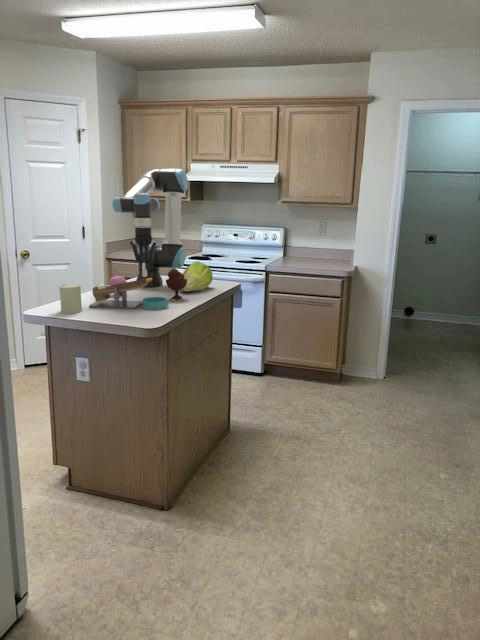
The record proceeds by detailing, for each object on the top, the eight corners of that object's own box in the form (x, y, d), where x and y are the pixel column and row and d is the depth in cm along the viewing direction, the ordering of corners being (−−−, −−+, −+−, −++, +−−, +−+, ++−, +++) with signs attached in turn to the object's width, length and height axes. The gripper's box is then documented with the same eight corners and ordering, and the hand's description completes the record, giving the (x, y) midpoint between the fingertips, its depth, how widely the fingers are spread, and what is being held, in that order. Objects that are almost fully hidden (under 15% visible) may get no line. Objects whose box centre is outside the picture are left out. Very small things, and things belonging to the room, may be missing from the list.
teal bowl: (147, 303, 246) (147, 296, 245) (170, 304, 244) (170, 297, 243) (139, 309, 235) (139, 301, 234) (164, 310, 233) (164, 302, 232)
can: (66, 308, 235) (64, 282, 232) (85, 308, 234) (83, 283, 231) (57, 312, 226) (55, 286, 223) (77, 313, 225) (75, 286, 222)
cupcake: (129, 295, 264) (128, 276, 261) (112, 297, 260) (111, 277, 257) (124, 292, 271) (123, 273, 269) (108, 293, 268) (107, 274, 265)
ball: (100, 292, 243) (97, 284, 242) (108, 290, 242) (105, 282, 242) (97, 293, 239) (94, 285, 238) (104, 291, 239) (102, 283, 238)
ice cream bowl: (184, 301, 252) (183, 271, 248) (162, 300, 254) (161, 270, 250) (190, 297, 262) (190, 267, 258) (169, 295, 264) (169, 267, 260)
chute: (108, 294, 255) (105, 282, 253) (154, 286, 251) (151, 273, 249) (95, 302, 238) (91, 288, 237) (143, 293, 234) (140, 279, 233)
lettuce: (202, 303, 271) (176, 304, 277) (218, 280, 289) (193, 281, 295) (194, 278, 263) (168, 280, 269) (211, 257, 282) (185, 259, 288)
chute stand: (100, 301, 249) (98, 282, 247) (143, 303, 247) (142, 283, 244) (89, 307, 237) (87, 287, 234) (135, 309, 234) (134, 289, 232)
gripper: (127, 227, 239) (129, 277, 244) (154, 227, 237) (155, 278, 243) (132, 226, 246) (134, 274, 252) (158, 226, 244) (160, 275, 250)
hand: (144, 276), depth 247 cm, fingers closed
